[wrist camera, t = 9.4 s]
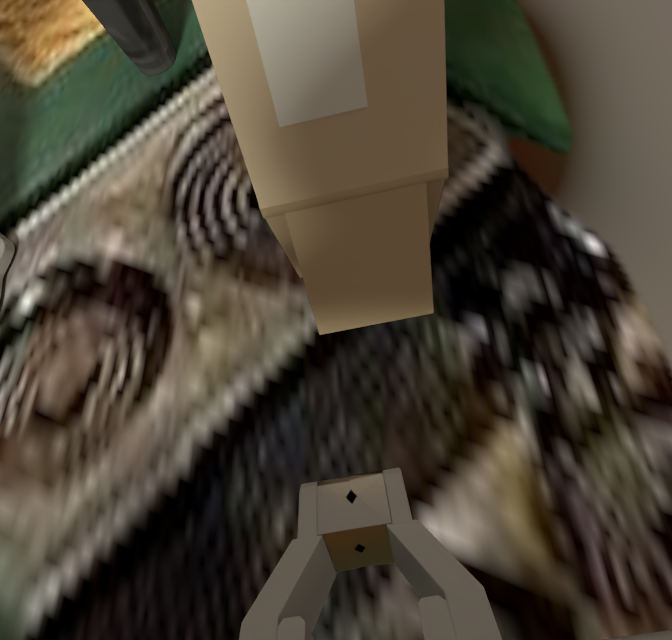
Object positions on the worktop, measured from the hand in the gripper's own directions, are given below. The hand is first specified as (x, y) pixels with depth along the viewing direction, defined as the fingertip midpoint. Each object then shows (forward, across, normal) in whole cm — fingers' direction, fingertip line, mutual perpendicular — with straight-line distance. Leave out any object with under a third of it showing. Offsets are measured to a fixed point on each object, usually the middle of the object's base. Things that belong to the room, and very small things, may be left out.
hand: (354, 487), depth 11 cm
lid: (+14, -2, -7) cm, 16 cm away
